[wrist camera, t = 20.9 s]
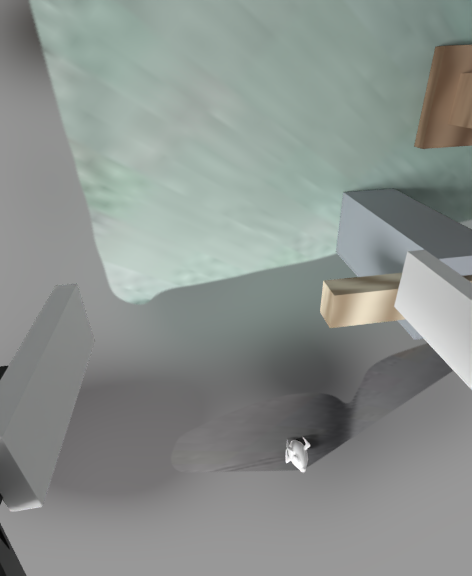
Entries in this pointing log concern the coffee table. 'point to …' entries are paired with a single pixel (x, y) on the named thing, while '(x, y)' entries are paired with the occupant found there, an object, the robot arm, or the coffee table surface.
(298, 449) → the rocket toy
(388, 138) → the coffee table surface
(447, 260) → the slotted block
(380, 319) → the birch bar
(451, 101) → the walnut stand
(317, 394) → the coffee table surface
